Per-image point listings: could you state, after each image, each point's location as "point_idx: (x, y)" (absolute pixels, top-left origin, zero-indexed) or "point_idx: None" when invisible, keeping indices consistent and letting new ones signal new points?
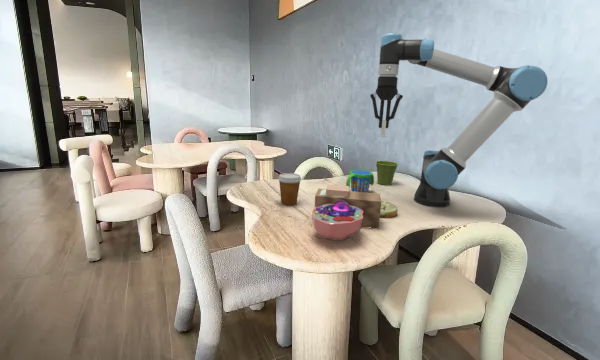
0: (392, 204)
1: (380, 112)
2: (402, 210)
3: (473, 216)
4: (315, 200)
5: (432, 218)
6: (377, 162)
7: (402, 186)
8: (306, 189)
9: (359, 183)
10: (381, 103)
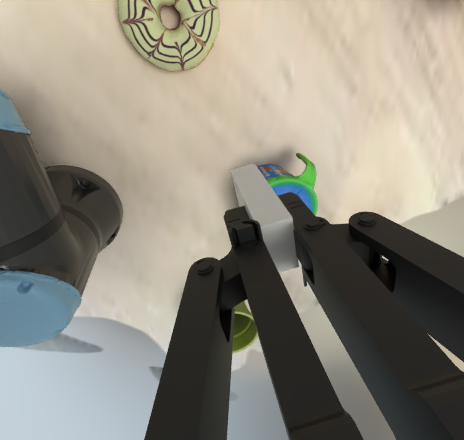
0: (141, 35)
1: (359, 259)
2: (121, 82)
3: None
4: None
5: (16, 45)
6: (254, 334)
7: (176, 292)
8: (402, 140)
9: (274, 172)
10: (445, 367)
